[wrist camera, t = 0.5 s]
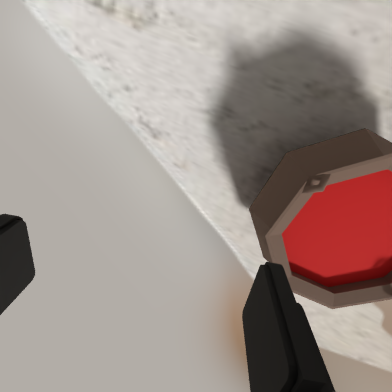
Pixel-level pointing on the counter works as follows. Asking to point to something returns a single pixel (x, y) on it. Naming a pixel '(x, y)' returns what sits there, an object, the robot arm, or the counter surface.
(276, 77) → the counter surface
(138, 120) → the counter surface
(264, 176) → the counter surface
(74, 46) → the counter surface
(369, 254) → the brown cauldron
